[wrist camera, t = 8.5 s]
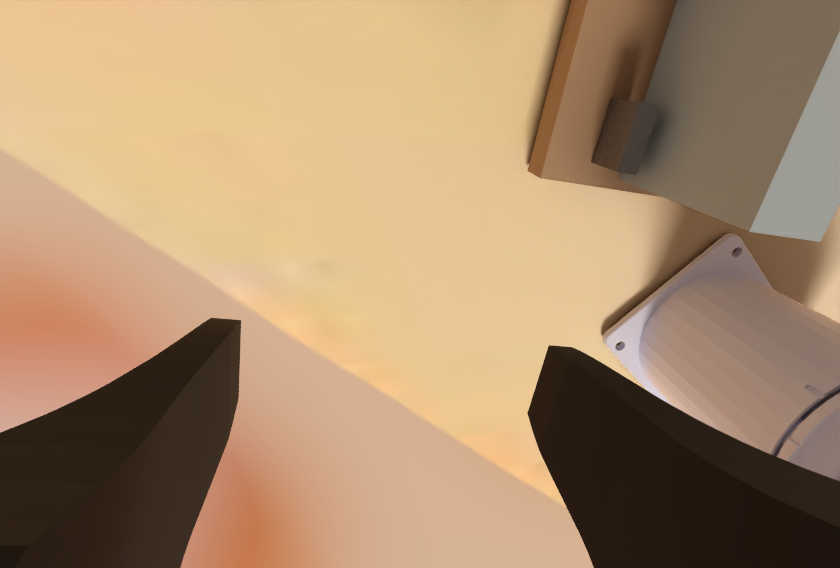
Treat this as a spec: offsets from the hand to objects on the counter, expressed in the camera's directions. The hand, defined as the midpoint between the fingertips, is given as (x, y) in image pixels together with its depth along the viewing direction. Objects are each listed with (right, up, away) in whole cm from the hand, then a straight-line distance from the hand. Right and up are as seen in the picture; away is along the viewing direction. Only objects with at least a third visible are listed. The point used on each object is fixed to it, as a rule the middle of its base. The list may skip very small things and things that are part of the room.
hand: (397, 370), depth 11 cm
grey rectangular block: (+11, +11, +7) cm, 17 cm away
